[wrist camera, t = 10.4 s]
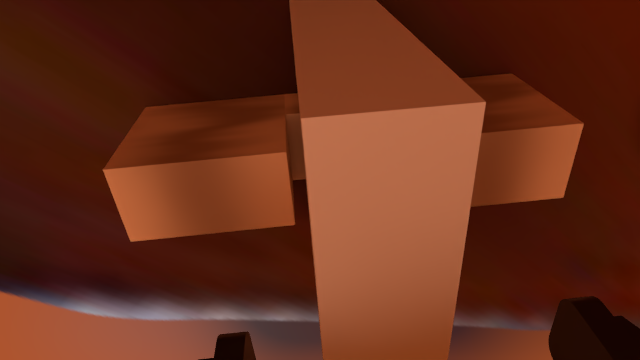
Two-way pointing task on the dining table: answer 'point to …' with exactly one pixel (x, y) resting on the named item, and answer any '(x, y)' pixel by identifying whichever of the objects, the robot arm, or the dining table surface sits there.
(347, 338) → the plain rectangular block
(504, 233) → the dining table surface
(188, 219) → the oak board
